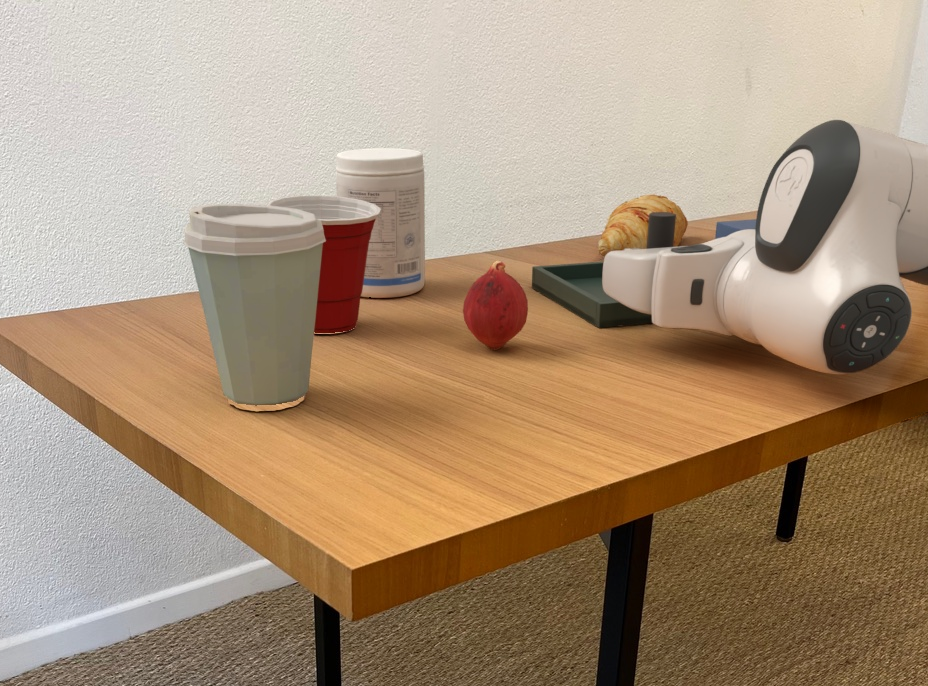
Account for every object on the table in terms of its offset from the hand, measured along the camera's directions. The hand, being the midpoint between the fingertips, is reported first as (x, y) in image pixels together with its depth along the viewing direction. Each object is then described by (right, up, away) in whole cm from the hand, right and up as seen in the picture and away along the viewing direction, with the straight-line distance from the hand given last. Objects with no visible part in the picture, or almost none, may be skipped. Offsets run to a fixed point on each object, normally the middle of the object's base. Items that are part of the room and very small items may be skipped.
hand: (673, 253), depth 102 cm
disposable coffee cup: (-37, -16, -18) cm, 44 cm away
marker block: (+11, 0, +14) cm, 18 cm away
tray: (-2, -3, +10) cm, 10 cm away
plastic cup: (-34, -7, +1) cm, 35 cm away
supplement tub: (-29, 0, +16) cm, 33 cm away
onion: (-18, -10, -6) cm, 22 cm away
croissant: (+4, +9, +35) cm, 36 cm away
